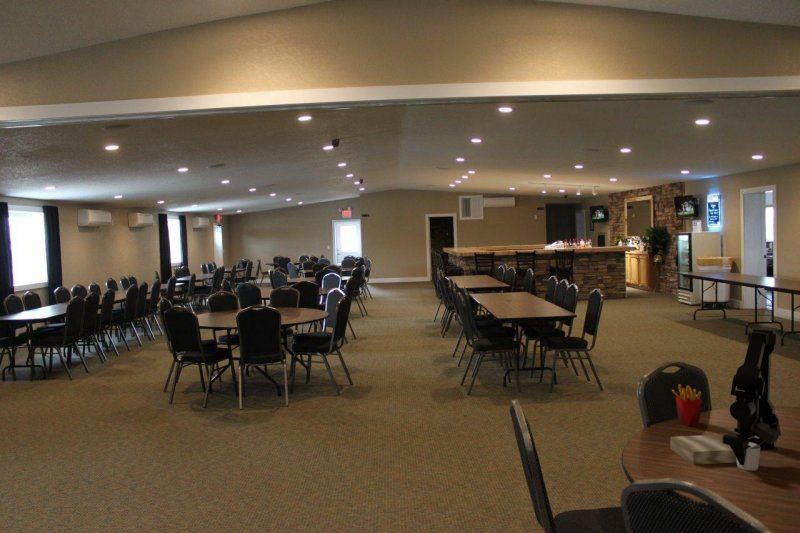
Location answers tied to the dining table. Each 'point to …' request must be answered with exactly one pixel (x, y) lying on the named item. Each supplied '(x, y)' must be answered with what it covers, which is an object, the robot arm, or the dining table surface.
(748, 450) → the white cup
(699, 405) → the french fries
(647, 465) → the dining table surface
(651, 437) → the dining table surface
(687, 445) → the birch block
